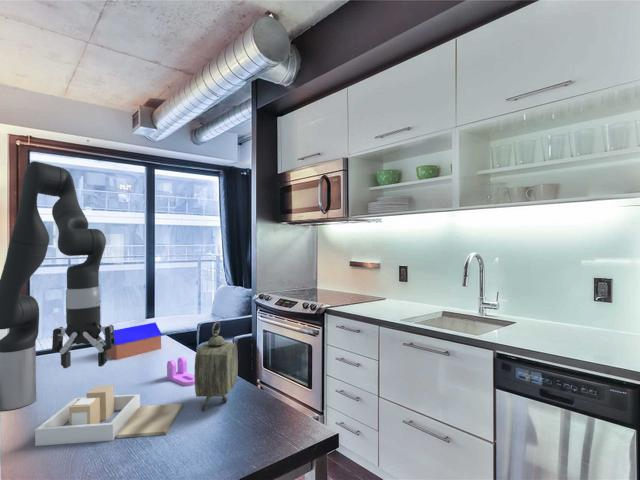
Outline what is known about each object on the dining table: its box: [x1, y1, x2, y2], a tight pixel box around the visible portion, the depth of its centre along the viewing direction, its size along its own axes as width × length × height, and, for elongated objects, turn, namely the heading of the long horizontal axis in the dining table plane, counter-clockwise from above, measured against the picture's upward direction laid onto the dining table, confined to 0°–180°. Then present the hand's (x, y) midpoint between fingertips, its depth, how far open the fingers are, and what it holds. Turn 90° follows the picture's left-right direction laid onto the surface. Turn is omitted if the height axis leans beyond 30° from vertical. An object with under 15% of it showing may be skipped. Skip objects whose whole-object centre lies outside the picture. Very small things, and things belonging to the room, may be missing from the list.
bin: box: [34, 393, 141, 447], centre depth 99 cm, size 18×18×4 cm
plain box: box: [86, 384, 115, 422], centre depth 104 cm, size 5×5×8 cm
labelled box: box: [68, 398, 101, 426], centre depth 95 cm, size 5×5×8 cm
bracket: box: [166, 356, 195, 387], centre depth 130 cm, size 13×6×7 cm, turn 53°
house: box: [104, 322, 163, 361], centre depth 164 cm, size 12×20×12 cm, turn 141°
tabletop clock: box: [194, 320, 239, 411], centre depth 112 cm, size 14×9×25 cm, turn 178°
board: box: [116, 403, 183, 439], centre depth 101 cm, size 12×16×1 cm
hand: (84, 366), depth 95 cm, fingers open, 8 cm apart
